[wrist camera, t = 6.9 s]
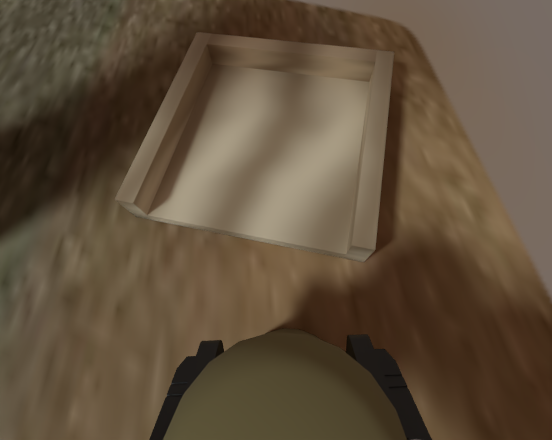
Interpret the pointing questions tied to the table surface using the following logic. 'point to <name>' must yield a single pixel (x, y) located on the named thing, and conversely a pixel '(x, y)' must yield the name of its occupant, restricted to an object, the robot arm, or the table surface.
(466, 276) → the table surface
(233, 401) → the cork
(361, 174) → the beige square tray
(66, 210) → the table surface
